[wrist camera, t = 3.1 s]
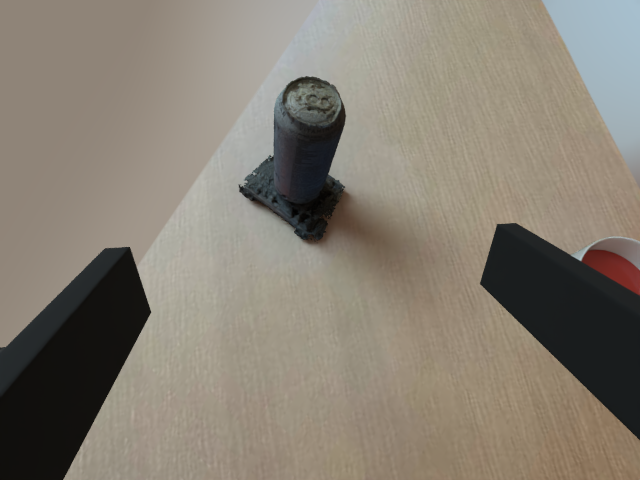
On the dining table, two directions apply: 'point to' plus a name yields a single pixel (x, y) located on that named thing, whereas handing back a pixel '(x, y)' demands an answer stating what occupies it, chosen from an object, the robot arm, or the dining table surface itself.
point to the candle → (614, 260)
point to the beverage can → (302, 157)
